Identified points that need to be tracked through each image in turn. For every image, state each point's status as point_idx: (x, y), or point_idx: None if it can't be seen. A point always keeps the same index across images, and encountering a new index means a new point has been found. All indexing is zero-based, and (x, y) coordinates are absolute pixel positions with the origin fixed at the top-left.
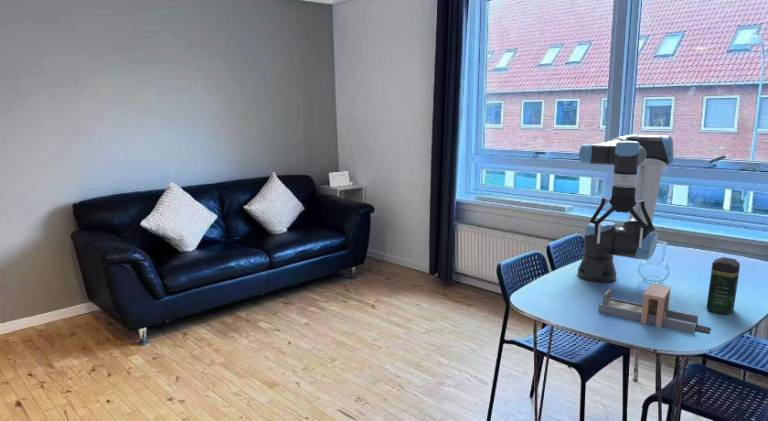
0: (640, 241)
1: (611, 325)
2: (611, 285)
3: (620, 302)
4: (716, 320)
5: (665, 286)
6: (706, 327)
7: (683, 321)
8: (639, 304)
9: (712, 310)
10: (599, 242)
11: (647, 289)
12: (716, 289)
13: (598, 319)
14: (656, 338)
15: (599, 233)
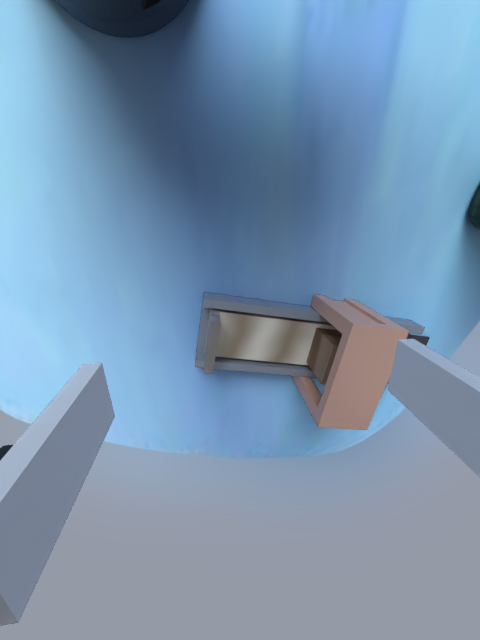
0: (428, 422)
1: (233, 413)
2: (198, 63)
3: (247, 315)
4: (459, 280)
5: (394, 333)
6: (421, 340)
7: None
8: (296, 318)
9: (477, 227)
10: (108, 393)
11: (333, 386)
12: None
13: (203, 397)
14: (314, 428)
15: (70, 500)
